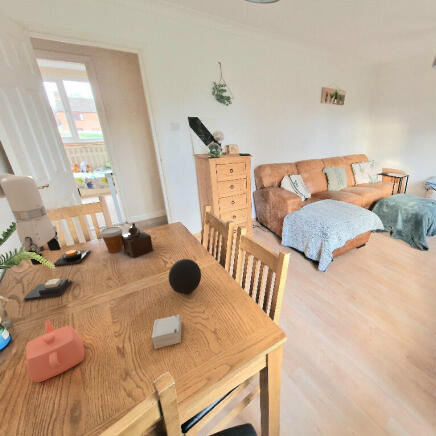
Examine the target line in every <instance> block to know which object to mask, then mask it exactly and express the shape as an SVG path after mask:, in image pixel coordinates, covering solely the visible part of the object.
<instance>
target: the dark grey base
mask: <svg viewBox="0 0 436 436" xmlns="http://www.w3.org/2000/svg"><path fill="white" fill-rule="evenodd" d="M60 279H61V283H60V284H59V285H58V286H57V287H52V288H45V286H44V285H45V284H46V283H47V282H44V283H38V284H37V285H36V286H35V287H34V288H32V289H31V291H29V293H27V295H26V296H25V297H24V298H23V300H24V302H26V301H34V300H42V299H49V298H59V297H61V296H62V295H63V294H64V292H65V291H66V290H67V289H68V288H69V287H70V285H72V280H71V279H68V278H60Z"/></svg>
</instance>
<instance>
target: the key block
mask: <svg viewBox="0 0 436 436" xmlns="http://www.w3.org/2000/svg"><path fill="white" fill-rule="evenodd" d="M75 250H76V249H75ZM76 252H77V254H75V255H73V256H66V254H65V253H66V252H64V253H62V255H61V256H60V257H59V258H58V259H57V260H56V261H55V262H53V264H54V265H55V266H54V267H62V266H72V265H73V266H74V265H80V264H81V263H82V262H83V261H84V259H85V258H87V256H88V255H89V254H90V253H91V250H90V249H84V250H78V249H77V250H76Z"/></svg>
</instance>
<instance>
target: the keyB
mask: <svg viewBox="0 0 436 436" xmlns="http://www.w3.org/2000/svg"><path fill="white" fill-rule="evenodd" d="M64 253H65V254H66V256H73V255H75V254H77V252H76V249H70V250H67V251H66V252H64Z"/></svg>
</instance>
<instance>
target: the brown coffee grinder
mask: <svg viewBox="0 0 436 436" xmlns="http://www.w3.org/2000/svg"><path fill="white" fill-rule="evenodd" d="M121 239H122V243H123V252H124V253H125V254H126V255H127V256H129V257H131V258H133V259H135V258H137V257H142V256H143V255H146V254H148V253H151V252H153V251H154V247H153V241H152V236H151V234H148V233H147V232H145V231H143V230H140V229H139V228H138V227H137V226H136V223H135V222H133V223H131V227H128V233H127V234H124V235H122V236H121Z"/></svg>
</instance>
